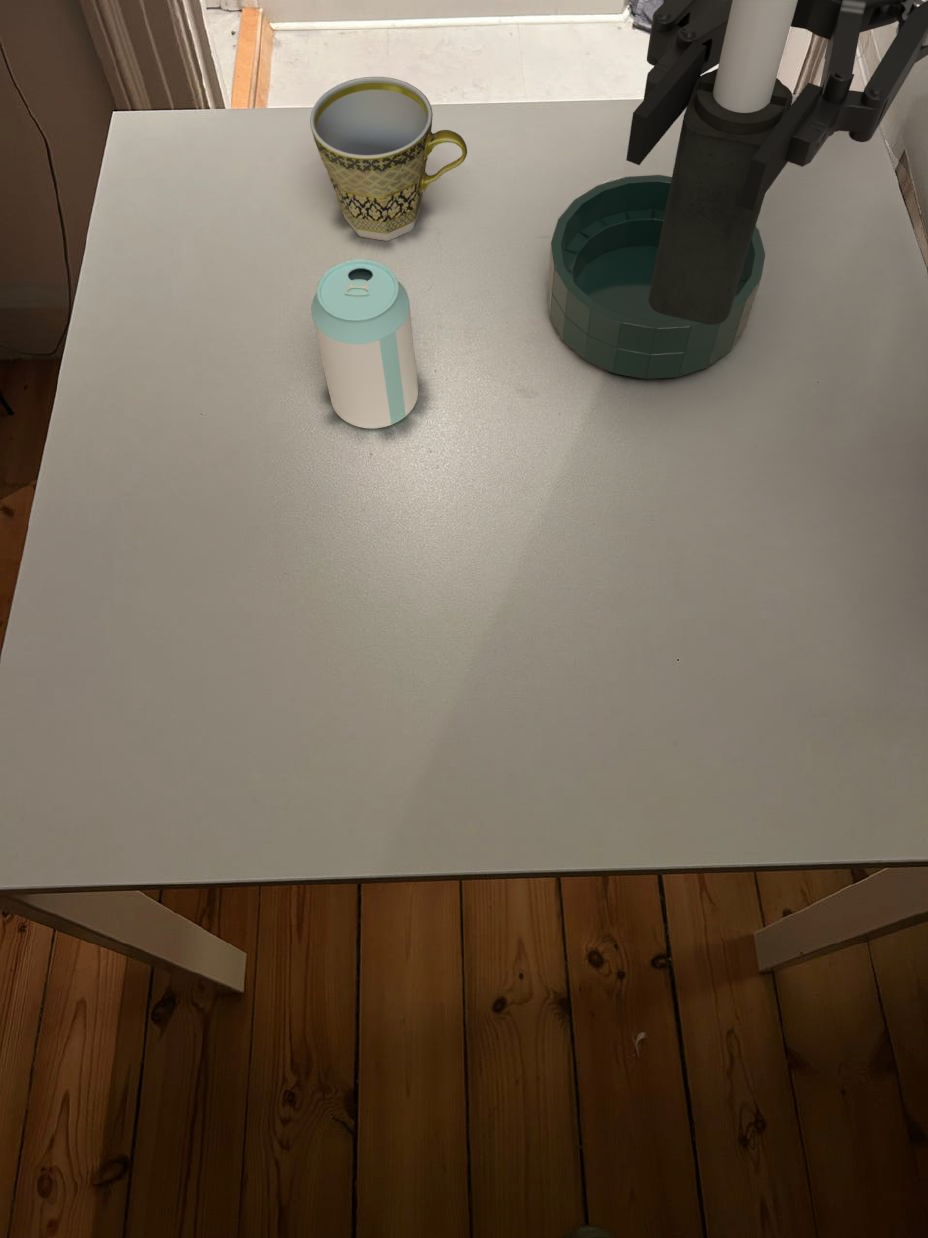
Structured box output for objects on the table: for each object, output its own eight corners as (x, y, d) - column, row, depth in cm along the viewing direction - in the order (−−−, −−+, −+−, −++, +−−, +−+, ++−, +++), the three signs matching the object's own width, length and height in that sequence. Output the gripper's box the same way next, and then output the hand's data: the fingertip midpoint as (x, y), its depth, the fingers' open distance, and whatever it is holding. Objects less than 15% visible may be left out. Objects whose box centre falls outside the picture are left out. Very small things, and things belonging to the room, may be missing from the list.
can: (315, 390, 81) (289, 278, 70) (389, 351, 82) (374, 237, 72) (360, 447, 78) (339, 341, 67) (435, 407, 80) (426, 296, 69)
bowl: (777, 283, 85) (799, 222, 79) (689, 416, 79) (705, 360, 73) (607, 212, 89) (615, 149, 83) (510, 332, 83) (512, 273, 77)
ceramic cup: (313, 245, 88) (293, 147, 79) (346, 169, 92) (330, 68, 83) (455, 268, 86) (451, 170, 77) (481, 190, 91) (480, 88, 82)
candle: (724, 328, 61) (860, -128, 39) (644, 310, 62) (731, -148, 39) (741, 270, 63) (879, -194, 41) (663, 253, 64) (756, -211, 42)
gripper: (1003, 42, 58) (846, 291, 50) (716, -52, 63) (528, 160, 55) (1070, -97, 52) (902, 163, 43) (743, -190, 57) (534, 26, 48)
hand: (693, 161), depth 49 cm, fingers closed on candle, 6 cm apart
